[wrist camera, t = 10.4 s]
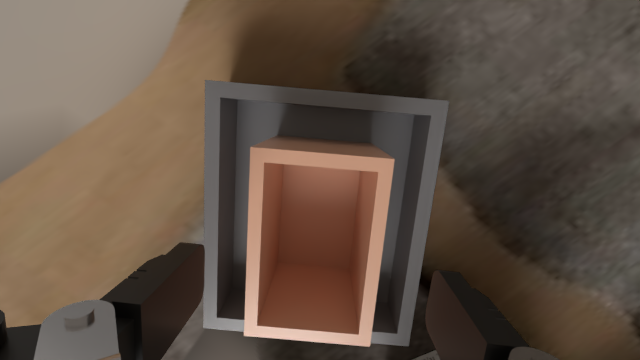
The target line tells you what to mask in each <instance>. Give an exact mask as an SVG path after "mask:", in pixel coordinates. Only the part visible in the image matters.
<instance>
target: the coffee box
mask: <svg viewBox="0 0 640 360" xmlns="http://www.w3.org/2000/svg"><path fill="white" fill-rule="evenodd" d="M412 360H440V358H439V356H438V353H437V351H436V350H434V351H432V352H429V353H427V354H424V355H422V356H420V357H417V358H415V359H412Z"/></svg>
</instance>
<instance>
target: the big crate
mask: <svg viewBox="0 0 640 360" xmlns="http://www.w3.org/2000/svg"><path fill="white" fill-rule="evenodd" d="M448 106H449V101H444V100H433V99H421V98H409V97H398V96H386V95H374V94H363V93H351V92H339V91H328V90H316V89H304V88H293V87H281V86H269V85H258V84H246V83H234V82H223V81H211V80H205V168H204V249H205V275H204V319H203V328H210V329H221V330H232V331H243V332H244V320H245V291H246V261H247V232H248V202H249V173H250V147H252V146H254V145H256V144H258V143H261V142H263V141H265V140H267V139H270V138H272V137H274V136H276V135H280V136H292V137H304V138H316V139H328V140H340V141H352V142H364V143H372V144H374V145H375V146H376V147H378V148H379V149H381V150H382V151H384V152H385V153H387V154H388V155H389V156H391V157H392V158H394V159H395V161H394V168H393V176H392V183H391V191H390V198H389V206H388V214H387V221H386V229H385V236H384V244H383V251H382V259H381V267H380V274H379V282H378V289H377V297H376V304H375V312H374V320H373V327H372V335H371V342H370V343H376V344H387V345H398V346H409V341H410V335H411V329H412V323H413V317H414V311H415V305H416V299H417V293H418V287H419V281H420V274H421V268H422V262H423V256H424V250H425V244H426V238H427V232H428V226H429V220H430V214H431V208H432V202H433V196H434V190H435V184H436V178H437V172H438V166H439V160H440V154H441V148H442V142H443V136H444V130H445V124H446V118H447V112H448Z"/></svg>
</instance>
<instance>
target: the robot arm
mask: <svg viewBox="0 0 640 360" xmlns="http://www.w3.org/2000/svg"><path fill="white" fill-rule="evenodd" d="M204 275H205V249H204V246H203V245H201V244H191V243H182V242H181V243H179V244H178V245H177V246H175V247H174V248H173V249H172V250H171V251H170V252H168V253H167V254H166V255H160V256H158V257H156V258H153V259H151V260H149V261H147V262H146V263H144V264H143V265H142V266H141V267H139V268H138V269H137V271H134V272H133V273H132V274H131V275H130V276H128V279H127V278H126V279H125V280H123V281H122V282H121V283H120V284H118V285H117V286H116V287H115V288H113V289H112V290H111V291H110V292H108V293H107V294H106V295H105V296H104V297H102V298H101V299H100V300H87V301H81V302H77V303H73V304H70V305H67V306H65V307H63V308H61V309H59V310H57V311H55V312H53V313H52V314H51V315H49V316H48V317H47V318H46V319H45V320H44V321H43V323H42V324H40V325H30V326H20V327H10V328H6V322H5V314H4V313H3V311H1V310H0V360H161V359H162V357H163V356H164V354H165V353H166V351H167V350H168V348H169V347H170V346H171V344H172V343H173V341H174V340H175V338H176V337H177V335H178V334H179V333H180V331H181V330H182V328H183V327H184V325H185V324H186V322H187V321H188V320H189V318H190V317H191V315H192V314H193V312H194V311H195V309H196V308H197V307H198V305H199V303H200V301H201V299H202V296H203V292H204ZM425 317H426V326H427V330H428V333H429V335H430V337H431V339H432V342H433V344H434V346H435V349H436V351H437V353H438V356H439V358H440V360H559V359H557V358H556V357H554V356H552V355H550V354H548V353H546V352H543V351H541V350H538V349H535V348H531V347H529V346H528V344H527V343H526V342H525V341H524V340H523V338H522V337H521V336H520V335H519V334H518V332H517V331H516V330H515V329H514V328H513V326H512V325H511V324H510V323H509V322H508V321H507V320H505V317H504V316H503V315H502V313H501V312H500V311H498V309H497V307H496V306H495V305H494V304H493V303H492V301H491V300H490V299H489V298H488V297H486V296H485V295H483V294H482V293H481V292H479V291H478V290H476V289H473V288H471V287H470V285H469V284H468V283H467V282H466V280H465V279H464V278H463V276H462V275H461V274H460V273H459V272H451V271H442V270H435V271H434V273H433V276H432V281H431V286H430V291H429V296H428V302H427V307H426V316H425Z"/></svg>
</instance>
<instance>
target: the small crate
mask: <svg viewBox="0 0 640 360" xmlns="http://www.w3.org/2000/svg"><path fill="white" fill-rule="evenodd" d="M394 161H395V159H394V158H392V157H391V156H389V155H388V154H387V153H385V152H384V151H382V150H381V149H379V148H378V147H376V146H375V145H374V144H372V143H364V142H352V141H340V140H328V139H316V138H304V137H292V136H280V135H276V136H274V137H272V138H270V139H267V140H265V141H263V142H261V143H258V144H256V145H254V146H252V147H250V173H249V202H248V232H247V261H246V291H245V320H244V336H252V337H264V338H275V339H287V340H298V341H310V342H321V343H332V344H344V345H355V346H367V347H370V342H371V335H372V327H373V320H374V312H375V304H376V297H377V289H378V282H379V274H380V267H381V259H382V251H383V244H384V236H385V229H386V221H387V214H388V206H389V198H390V191H391V183H392V176H393V168H394Z"/></svg>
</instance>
